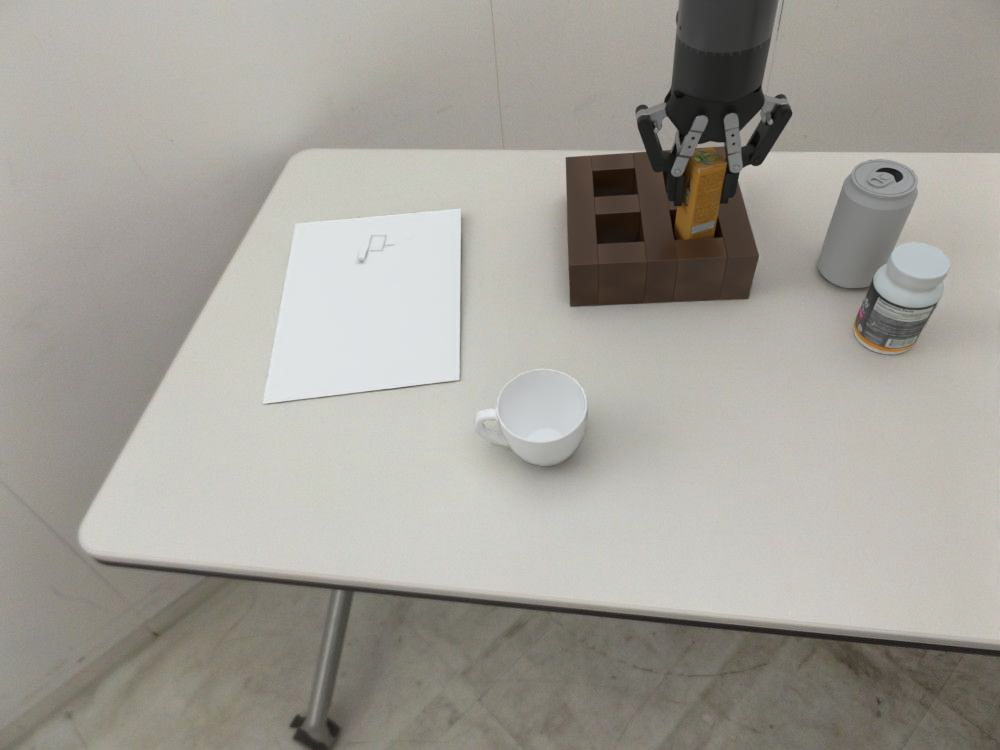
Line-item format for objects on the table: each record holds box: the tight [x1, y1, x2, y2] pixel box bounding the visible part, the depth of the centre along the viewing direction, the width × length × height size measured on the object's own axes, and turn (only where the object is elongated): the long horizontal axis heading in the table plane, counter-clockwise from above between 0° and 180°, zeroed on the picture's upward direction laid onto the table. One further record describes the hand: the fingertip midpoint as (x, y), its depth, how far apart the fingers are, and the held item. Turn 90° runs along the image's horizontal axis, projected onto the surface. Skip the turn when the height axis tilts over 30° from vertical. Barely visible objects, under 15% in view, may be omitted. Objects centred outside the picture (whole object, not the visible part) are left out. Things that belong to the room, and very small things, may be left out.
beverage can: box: [816, 158, 919, 289], centre depth 68 cm, size 6×6×12 cm
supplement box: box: [674, 146, 727, 240], centre depth 69 cm, size 3×3×10 cm
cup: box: [473, 368, 589, 467], centre depth 61 cm, size 8×10×7 cm
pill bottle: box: [852, 241, 951, 355], centre depth 63 cm, size 6×6×10 cm
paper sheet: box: [262, 208, 462, 405], centre depth 78 cm, size 24×29×1 cm
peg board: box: [565, 145, 760, 307], centre depth 76 cm, size 19×19×6 cm
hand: (699, 199), depth 69 cm, fingers closed on supplement box, 4 cm apart
